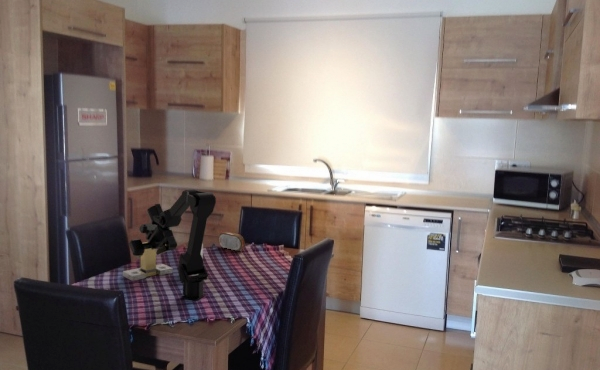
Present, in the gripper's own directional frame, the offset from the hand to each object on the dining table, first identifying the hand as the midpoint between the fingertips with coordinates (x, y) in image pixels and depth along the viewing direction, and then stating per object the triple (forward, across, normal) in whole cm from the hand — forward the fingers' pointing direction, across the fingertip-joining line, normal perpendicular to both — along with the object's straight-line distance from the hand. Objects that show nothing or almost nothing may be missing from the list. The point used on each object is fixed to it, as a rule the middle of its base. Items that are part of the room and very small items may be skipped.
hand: (146, 255), depth 216 cm
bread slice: (+14, -52, -3) cm, 54 cm away
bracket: (+4, 0, +6) cm, 8 cm away
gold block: (+4, 0, +6) cm, 8 cm away
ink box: (-2, -16, +13) cm, 21 cm away
